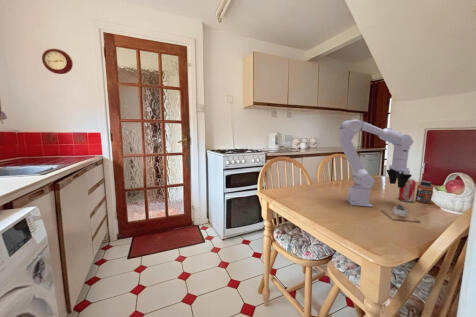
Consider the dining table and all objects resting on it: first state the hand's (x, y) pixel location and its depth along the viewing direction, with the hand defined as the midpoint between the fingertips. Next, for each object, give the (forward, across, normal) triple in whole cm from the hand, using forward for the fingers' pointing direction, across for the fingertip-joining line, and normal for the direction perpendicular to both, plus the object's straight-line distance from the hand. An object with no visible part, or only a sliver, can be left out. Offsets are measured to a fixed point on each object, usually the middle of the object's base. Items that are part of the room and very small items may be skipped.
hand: (396, 185), depth 97 cm
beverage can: (+11, +10, -10) cm, 18 cm away
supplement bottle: (+11, +10, -18) cm, 23 cm away
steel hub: (+10, -15, +5) cm, 19 cm away
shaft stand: (+10, -15, +5) cm, 19 cm away
